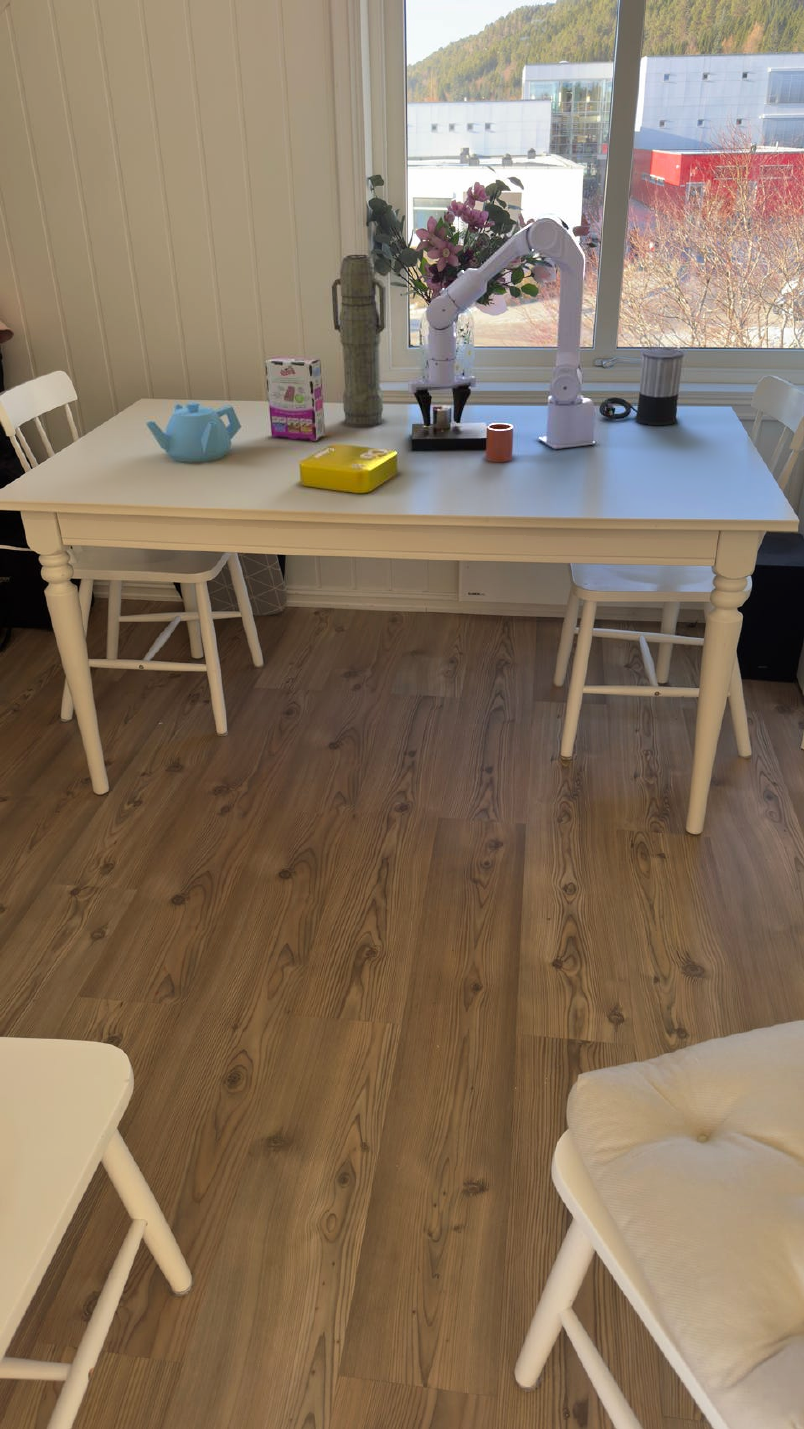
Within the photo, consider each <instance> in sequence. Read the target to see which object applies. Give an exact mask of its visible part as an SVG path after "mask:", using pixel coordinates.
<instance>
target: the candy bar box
mask: <svg viewBox="0 0 804 1429" xmlns="http://www.w3.org/2000/svg"><path fill="white" fill-rule="evenodd" d="M264 364H265V375H266V387H267V399H268V409H269V421H270V432H271V437H272V438H275V439H286V440H298V441H310V442H317V441H318V440H320V439H322V438H324V437H325V436H326V429H325V428H326V426H325V412H324V411H325V410H324V397H323V396H324V395H323V382H322V381H323V380H322V363H321V359H319V358H317V359H316V358H299V357H281V356H280V357H279V356H275V357H272V358H269V359H267V360H265V361H264Z"/></svg>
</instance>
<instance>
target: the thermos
mask: <svg viewBox="0 0 804 1429" xmlns="http://www.w3.org/2000/svg"><path fill="white" fill-rule="evenodd" d="M376 273H377V272H376V268H375V264H374V261H373V259H372V257H371V256H369V255H367V254H350V255H346V257H343V258H342V261H341V265H340V268H339V277H340V278H336V279H334V282H333V283H332V285H331V298H332V300H331V301H332V318H333V326H334V330H336V331H338V333H340V334H339V336H340V337H339V338H340V343H341V346H342V354H343V356H342V357H343V373H344V374H343V375H344V392H343V395H342V397H343V398H342V403H343V404H342V406H343V413H344V424H345V425H347V426H349V427H355V428H368V427H369V428H370V427H376V426H379V425H381V424H382V423H383V421H384V419H383V411H384V400H383V391H382V389H381V388H382V387H381V383H380V382H381V380H380V378H381V377H380V351H379V350H380V349H379V348H380V347H379V346H380V344H381V333H382V332H383V331H384V330H385V329H386V327H387V287H386V286H385V284H384V282H383V281H382V280H381V279H377V277H376V276H377V274H376ZM338 285H339V286H340V296H341V301H342V302H341V309H340V313H339V301H338V300H339V299H338ZM377 288H378V292H379V293H378V294H379V296H378V298H379V310H378V303H377V301H376V296H377Z"/></svg>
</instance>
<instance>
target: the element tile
mask: <svg viewBox="0 0 804 1429" xmlns="http://www.w3.org/2000/svg"><path fill="white" fill-rule="evenodd" d="M298 465H299V466H298V467H299V479H300V484H301V485H302V486H304V487H307V488H315V489H321V490H330V491H335V492H336V491H337V492H343V493H351V494H367V493H370V492H372V491H374V490H375V489H377V488H378V487H380V486H381V485H383V484H384V483H385V482H387V481H389V480H390V479H392V478H394V477H395V476H396V475H397V474H398V452H397V451H396V450H393V449H384V448H378V447H377V448H375V447H367V446H358V445H350V444H341V443H334V444H331V445H329V446H327V447H324V448H323V449H320V450H319V451H317V452H316V453H314V454H312V455H310V456H308V457H306V458H305V459H303V460H301V461H300V462H299V464H298Z"/></svg>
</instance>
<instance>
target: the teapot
mask: <svg viewBox="0 0 804 1429" xmlns="http://www.w3.org/2000/svg"><path fill="white" fill-rule="evenodd" d="M223 416H226V417H227V421H228V422H229V424H228V425H226V424H225V423H224V421H223V420H222V417H223ZM145 425H146V427H147V428H148V429H149V431H150V432H151V434H152V436H153V437H154V439H155V441H156V442H157V443H158V445H159V447H160V448H161V449H162V450H164V451H165V453H166V454H167V455H168V456H169V457H170V458H171V459H172V460H174V461H176V462H180V463H187V464H197V463H206V462H211V461H217V460H219V459H221V458H224V457H225V456H226V455H227V453H228V452H229V451H230V449H231V447H232V439H233V438H234V437H235V435H236V434H237V433H238V432H239V430H240V429H241V428H242V425H241V423H240V420H239V418H238V416H237V414H236V411H235V409H234V407H233V406H232V405H230V404H228V405H225V406H223V407H220V408H216V409H213V408H211V407H209V406H200V402H199V401H189V402H186V403H185V407H183V405H182V404H180V403H176V404H174V411H173V413H172V414H171V416H170V418H169V420H168V422H167V425H166V427H165V430H164V431H163V430H162V429H161V427H160V426H159V425H158V424H157V423H156V421H154V420H151V421H147V422H145Z"/></svg>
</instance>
